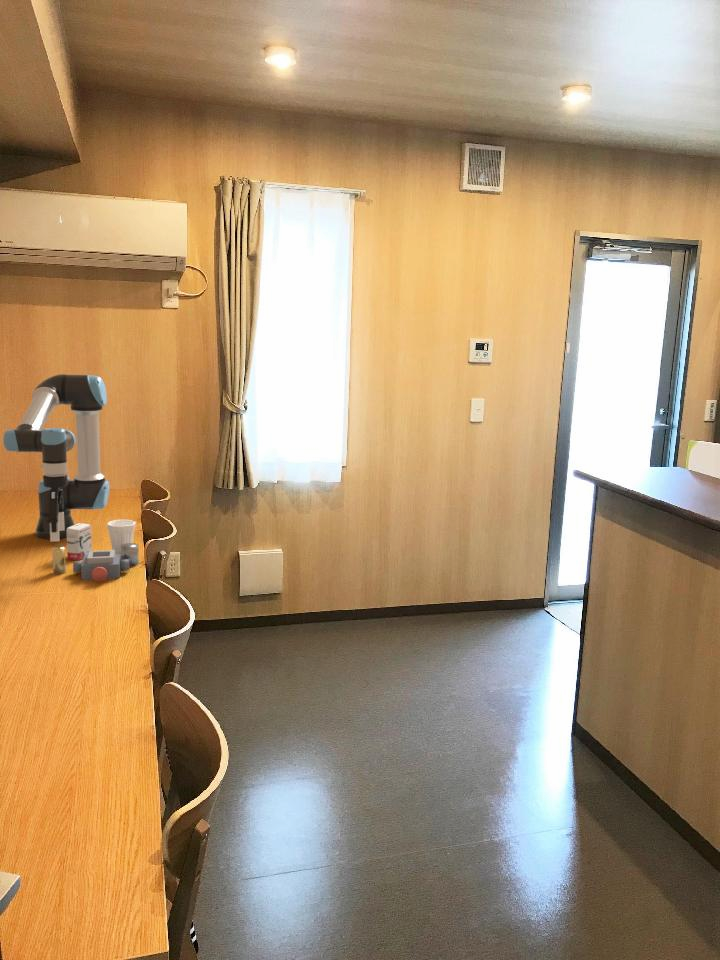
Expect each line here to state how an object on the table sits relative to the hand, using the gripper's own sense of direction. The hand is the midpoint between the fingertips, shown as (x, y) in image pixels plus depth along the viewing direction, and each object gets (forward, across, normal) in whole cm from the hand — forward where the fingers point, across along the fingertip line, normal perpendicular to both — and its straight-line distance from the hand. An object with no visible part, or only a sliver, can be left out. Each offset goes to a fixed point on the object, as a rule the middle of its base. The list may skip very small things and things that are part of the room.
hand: (57, 535), depth 241 cm
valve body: (+13, +5, +14) cm, 20 cm away
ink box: (+13, -17, +5) cm, 22 cm away
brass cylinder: (+13, 0, 0) cm, 13 cm away
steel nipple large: (+13, -6, +23) cm, 27 cm away
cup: (+13, -15, +20) cm, 29 cm away
